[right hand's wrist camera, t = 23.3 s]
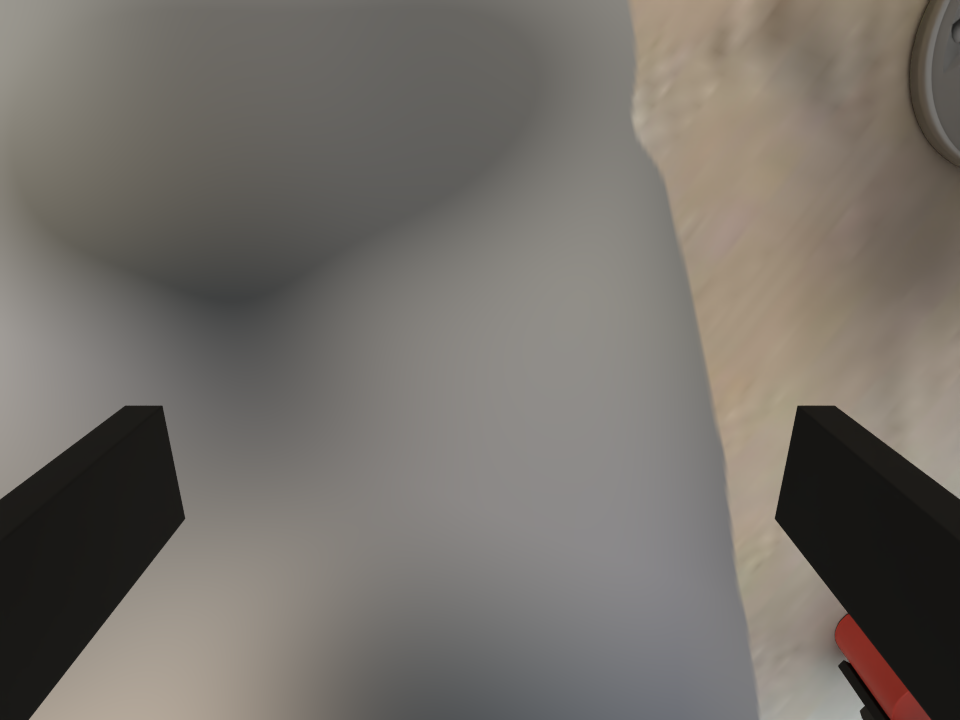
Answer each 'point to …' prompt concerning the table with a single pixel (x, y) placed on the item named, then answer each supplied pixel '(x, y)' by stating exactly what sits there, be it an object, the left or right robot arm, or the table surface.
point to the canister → (877, 673)
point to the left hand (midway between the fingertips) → (878, 644)
